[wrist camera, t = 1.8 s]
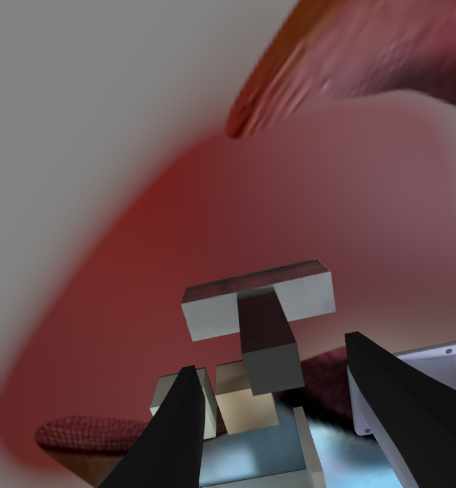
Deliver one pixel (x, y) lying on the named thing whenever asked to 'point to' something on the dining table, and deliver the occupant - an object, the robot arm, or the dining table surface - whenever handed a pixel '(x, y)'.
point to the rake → (262, 317)
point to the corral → (297, 482)
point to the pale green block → (210, 400)
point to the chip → (242, 400)
